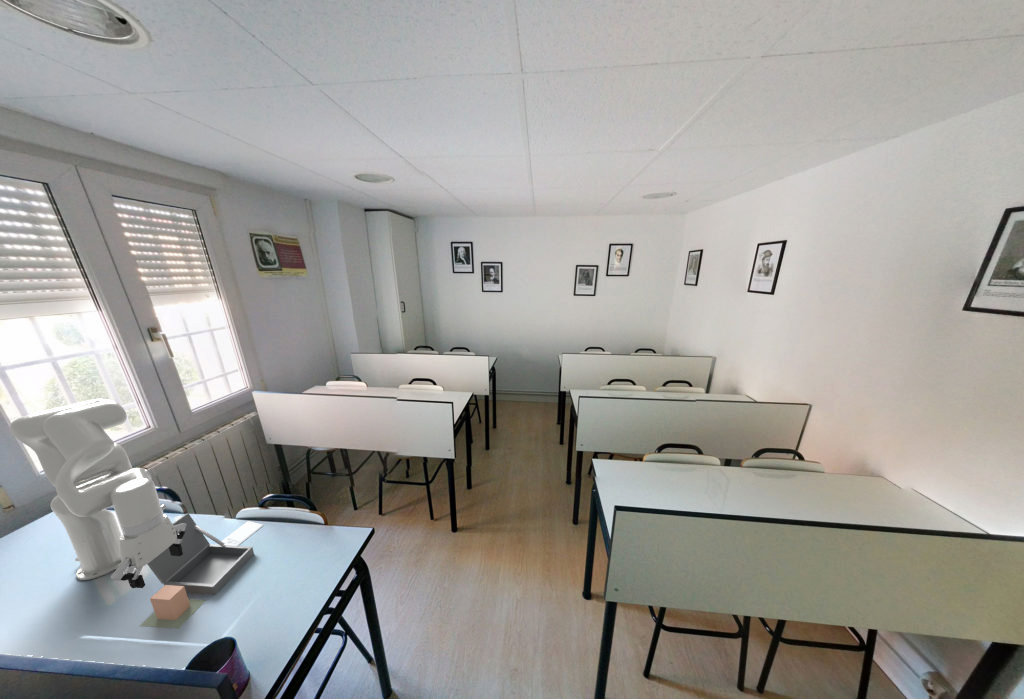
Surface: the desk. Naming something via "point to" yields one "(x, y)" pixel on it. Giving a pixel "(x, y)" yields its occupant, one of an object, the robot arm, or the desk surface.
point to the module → (170, 602)
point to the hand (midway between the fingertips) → (159, 570)
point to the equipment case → (200, 561)
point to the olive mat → (176, 624)
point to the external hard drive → (242, 533)
